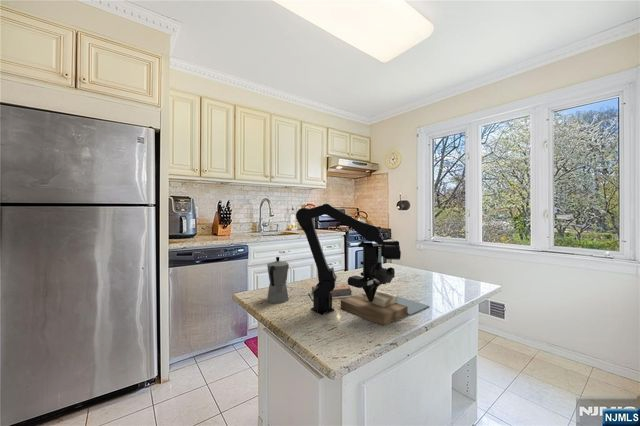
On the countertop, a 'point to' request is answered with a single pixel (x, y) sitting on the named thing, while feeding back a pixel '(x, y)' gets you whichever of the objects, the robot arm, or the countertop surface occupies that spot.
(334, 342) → the countertop surface
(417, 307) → the mat
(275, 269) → the coffeepot
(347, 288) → the packaged product
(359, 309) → the block
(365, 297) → the cream flat block
